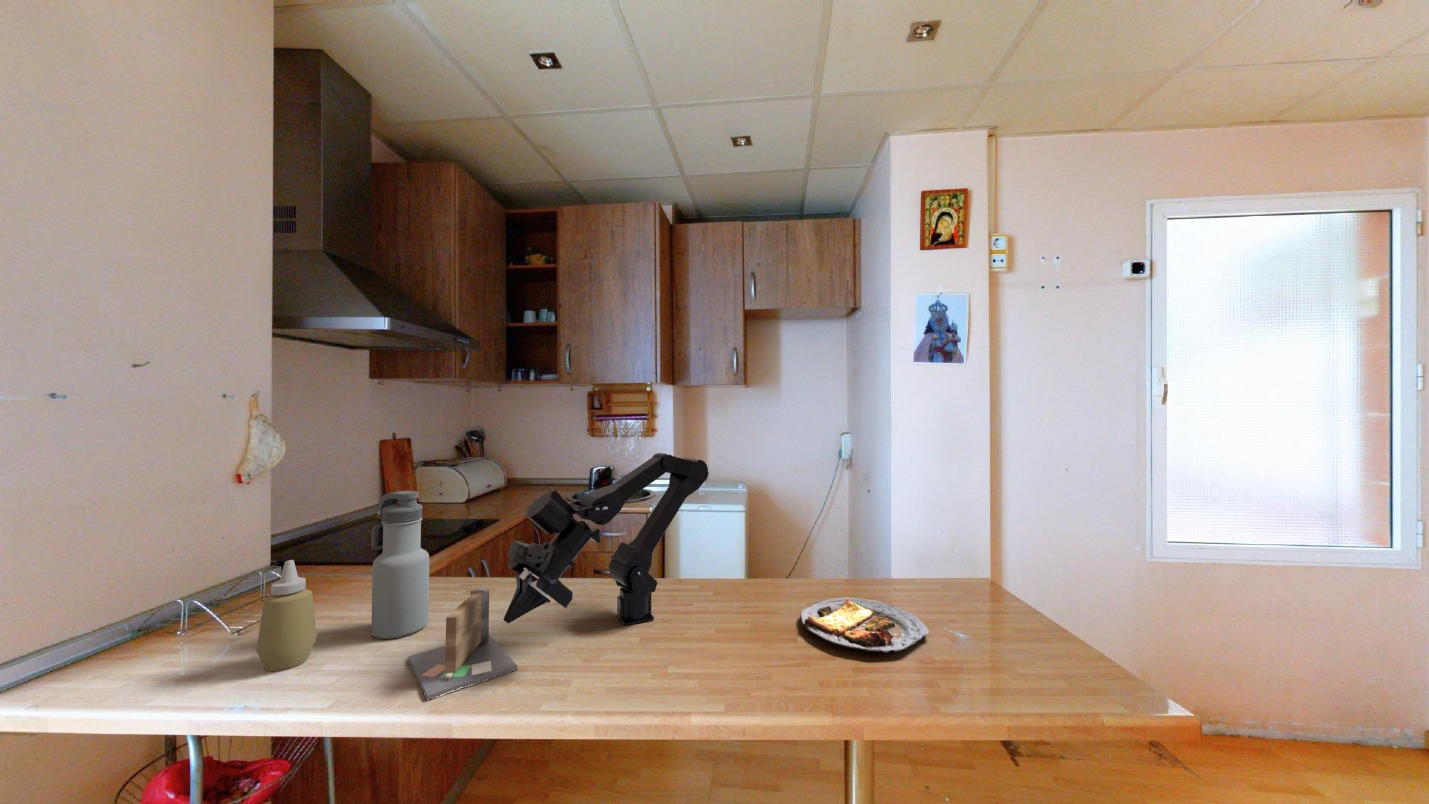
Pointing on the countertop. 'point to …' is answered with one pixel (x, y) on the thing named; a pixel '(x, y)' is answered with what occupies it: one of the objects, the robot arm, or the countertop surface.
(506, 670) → the grey flat board
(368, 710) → the countertop surface
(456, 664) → the upright wooden block
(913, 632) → the food plate
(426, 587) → the water bottle
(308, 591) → the squeeze bottle
